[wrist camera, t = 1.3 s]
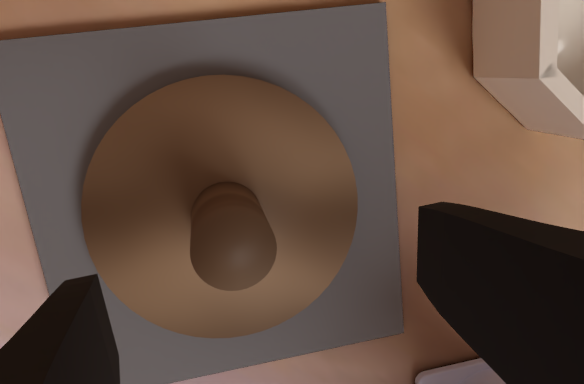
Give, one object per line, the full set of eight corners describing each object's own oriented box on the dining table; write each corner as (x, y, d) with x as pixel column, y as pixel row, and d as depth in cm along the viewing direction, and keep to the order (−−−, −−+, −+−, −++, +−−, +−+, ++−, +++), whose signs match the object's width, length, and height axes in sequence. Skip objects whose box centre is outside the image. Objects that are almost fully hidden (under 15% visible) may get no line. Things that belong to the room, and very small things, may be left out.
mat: (400, 328, 24) (403, 332, 23) (80, 396, 21) (78, 402, 21) (382, 3, 20) (385, 2, 19) (-15, 42, 17) (-20, 42, 17)
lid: (362, 303, 22) (403, 361, 18) (117, 353, 21) (95, 431, 16) (341, 58, 19) (384, 55, 15) (54, 93, 18) (6, 101, 13)
